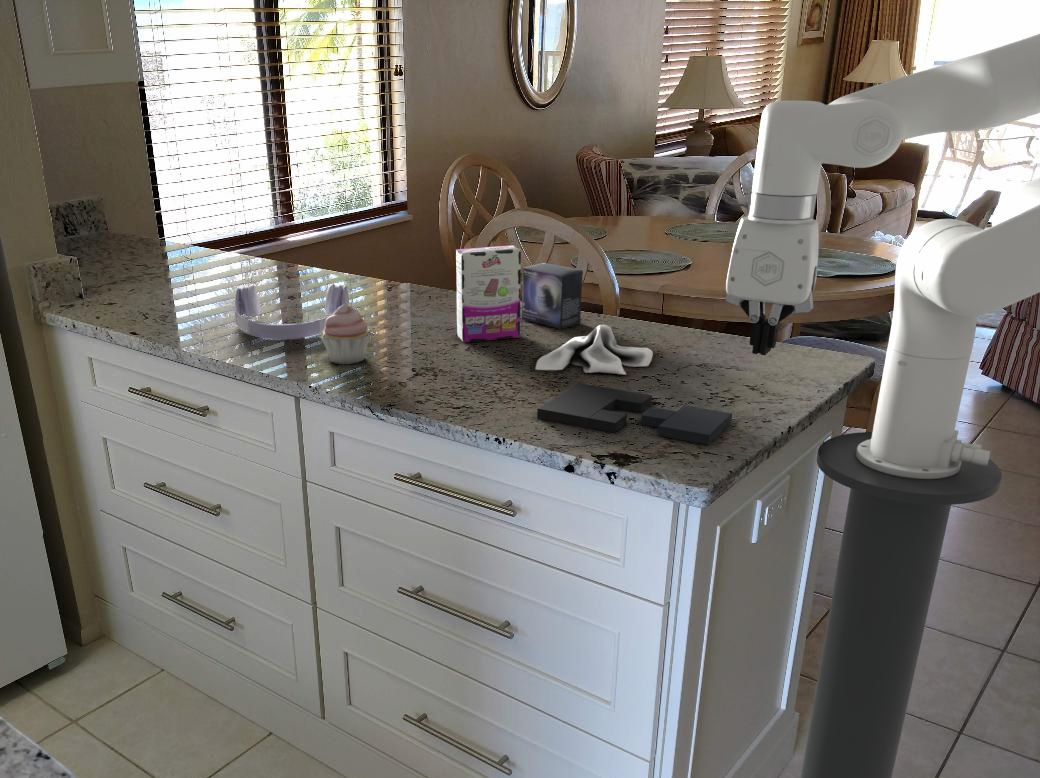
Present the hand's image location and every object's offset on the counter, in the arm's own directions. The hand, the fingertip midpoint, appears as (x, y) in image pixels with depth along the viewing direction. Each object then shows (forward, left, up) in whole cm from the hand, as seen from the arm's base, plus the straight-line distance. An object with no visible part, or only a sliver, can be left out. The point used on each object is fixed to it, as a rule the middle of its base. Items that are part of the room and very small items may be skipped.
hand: (761, 351), depth 129 cm
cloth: (+34, -24, -13) cm, 43 cm away
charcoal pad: (+10, 0, -12) cm, 16 cm away
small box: (+52, -44, -13) cm, 69 cm away
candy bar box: (+57, -28, -13) cm, 64 cm away
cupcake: (+71, -3, -13) cm, 72 cm away
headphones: (+95, -16, -13) cm, 97 cm away
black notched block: (+23, 0, -12) cm, 26 cm away
